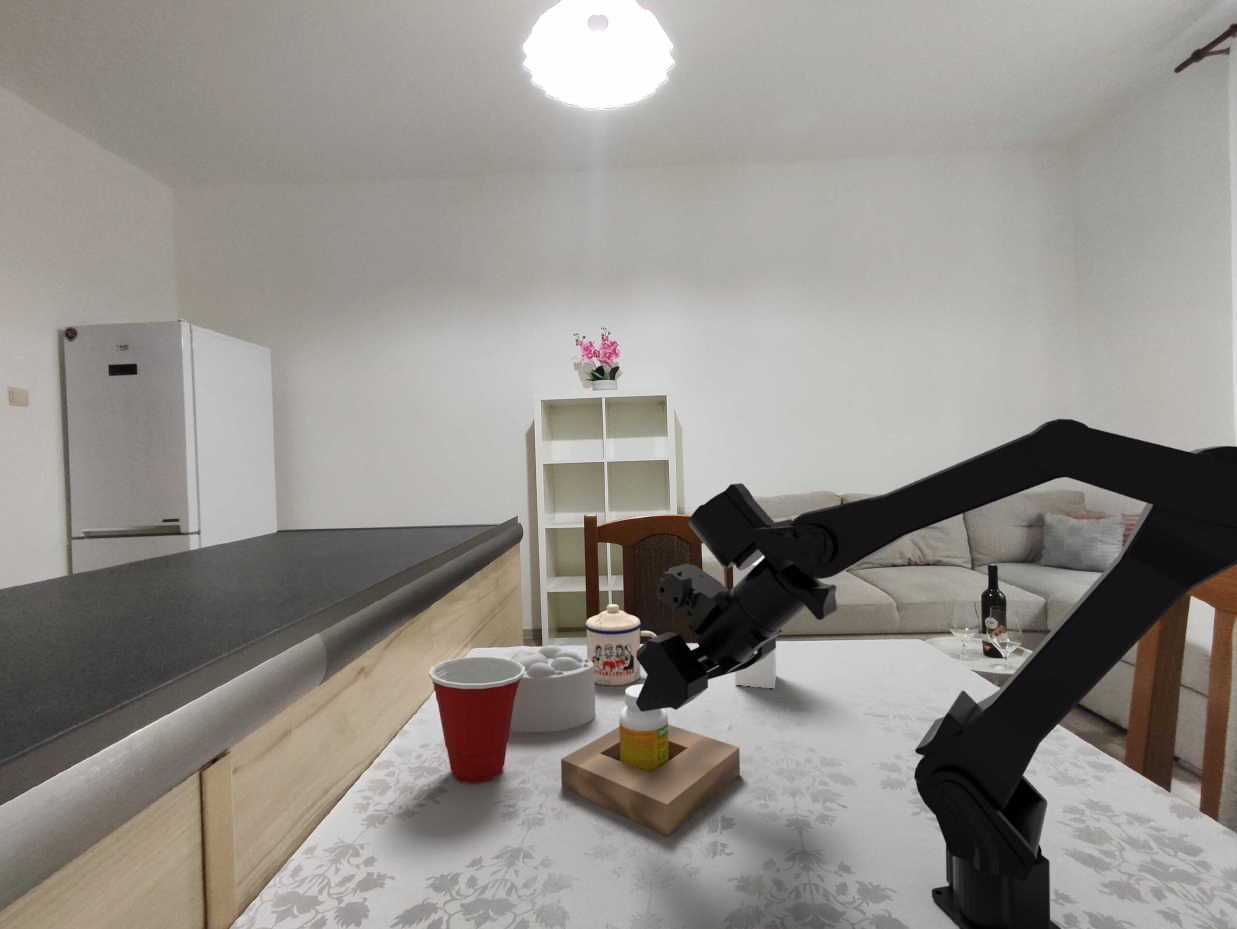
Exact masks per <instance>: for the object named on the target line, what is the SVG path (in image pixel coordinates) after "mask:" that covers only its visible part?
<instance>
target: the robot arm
mask: <svg viewBox="0 0 1237 929" xmlns="http://www.w3.org/2000/svg"><path fill="white" fill-rule="evenodd" d="M1062 478H1067V479H1071V480H1074V481H1077V482H1082V483H1085V484H1087V485H1091V486H1094V487H1096V488H1099V489H1102V490H1105V491H1109V492H1112V493H1115V494H1117V495H1121V496H1124V497H1126V498H1130V499H1133V500H1136V501H1139V502H1142V503H1143V502H1144V503H1145V506H1144V507H1143V509H1142V511H1141V512H1140V514H1139V517H1138V518H1137V521H1136V523H1135V524H1134V526H1133V528H1132V530H1131V532H1130V534H1129V536H1128V538H1127V539H1126V541H1125V544H1124V546H1123V547H1122V549H1121V551H1120V552H1119V554H1118V555H1117V556H1116V557H1115V558H1114V560H1112V562H1111V563H1109V565H1108V566H1107V567H1106V569H1105V570H1104V571H1103V572H1102V573H1101V574H1100V575H1099V577H1097V579H1096V580H1095V581H1094V582H1093V583H1092V584H1091V586H1089V588H1088V589H1086V591H1085V592H1084V593H1083V595H1082V596H1081V597H1080V598H1079V599H1078V600H1077V601H1076V602H1075V604H1073V606H1072V607H1071V608H1070V609H1069V610H1068V611H1067V613H1065V615H1064V616H1063V617H1062V618H1061V619H1060V621H1058V622H1057V624H1056V625H1055V626H1054V627H1053V629H1052V630H1051V631H1049V633H1047V635H1046V636H1045V638H1044V639H1042V641H1041V642H1040V643H1039V644H1038V645H1037V646H1036V648H1034V650H1033V651H1032V652H1031V653H1030V654H1029V656H1027V657H1026V659H1025V660H1024V661H1023V662H1022V663H1021V664H1020V666H1019V667H1017V669H1016V670H1015V671H1014V672H1013V674H1011V676H1010V677H1009V678H1008V679H1006V680H1007V681H1006V682H1004V683H1003V685H1002V686H1001V687H1000V688H999V689H998V690H997V691H996V692H994V693H992V694H991V695H990V696H988V697H986V698H983V699H982V700H981V701H979V702H976V701H975V700H974V699H973V697H971V696H970V695H969V693H967V692H966V691H965V690H961V691H960V693H959V695H958V696H957V697H956V699H955V700H954V702H953V703H952V704H951V706H950V708H949V709H948V711H947V712H946V714H945V715H944V716H943V717H939V718H938V719H935V720H934V721H933V723H932V725H931V726H930V727H929V729H928V731H927V732H926V733H925V735H923V738H922V739H921V741H919V743H918V745H917V746H916V747H915V749H914V751H915V752H914V753H916V754H917V755H921V756H922V757H921V758H920V760H919V761H918V763H917V765H916V767H915V769H914V770H915V771H914V775H913V778H914V780H915V783H916V789H917V792H918V795H919V796H920V797H921V799H922V801H923V803H924V804H925V806H926V807H927V808H928V809H929V810H930V811H931V812H932V814H933V815H935V817H936V820H937V823H938V826H939V829H940V831H941V834H942V837H943V840H944V842H945V870H946V871H945V873H946V876H945V879H946V882H947V883H948V885H945V886H940V887H934V888H931V898H932V899H933V900H934V901H935V902H936V903H937V904H938V906H940V907H941V908H942V909H943V911H945V912H946V913H947V914H948V915H949V916H950V917H951V918H952V919H953V920H954V921H955V923H957V925H959V927H961V929H1062V928H1061V927H1060V926H1058V924H1056V923H1055V922H1054V921H1052V920H1051V888H1050V887H1051V884H1050V883H1051V875H1050V874H1051V872H1050V871H1051V870H1050V869H1051V868H1050V860H1049V859H1048V858H1047V857H1045V856H1044V855H1043V854H1042V853H1043V852H1042V847H1041V845H1040V842H1041V836H1042V832H1043V825H1044V821H1045V817H1046V812H1047V807H1048V800H1047V799H1046V798H1045V797H1044V796H1043V795H1042V794H1041V793H1040V791H1038V790H1037V788H1035V786H1034V785H1033V784H1032V783H1031V782H1030V781H1029V780H1028V779H1027V777H1025V776H1024V774H1025V772H1026V770H1027V768H1028V766H1029V764H1030V762H1031V761H1032V759H1033V757H1034V755H1035V753H1036V751H1037V749H1038V748H1039V746H1040V744H1041V742H1042V741H1043V740H1044V739H1045V738H1046V737H1047V736H1048V735H1049V734H1050V733H1051V732H1052V731H1053V730H1054V729H1055V728H1056V727H1057V726H1058V725H1059V724H1060V723H1061V722H1062V720H1064V718H1066V717H1067V716H1068V714H1069V713H1070V712H1071V711H1073V709H1074V708H1075V707H1076V706H1077V705H1078V704H1079V703H1080V702H1081V701H1082V700H1083V699H1084V698H1085V697H1086V696H1087V694H1089V693H1090V692H1091V690H1093V689H1094V687H1095V686H1097V684H1098V683H1099V682H1100V681H1101V680H1102V679H1103V678H1104V677H1105V676H1106V675H1107V674H1108V673H1109V672H1110V671H1111V670H1112V669H1113V668H1114V667H1115V665H1117V664H1118V663H1119V661H1121V659H1122V658H1124V656H1126V655H1127V653H1128V652H1129V651H1130V650H1131V649H1133V647H1134V646H1135V645H1136V644H1137V643H1138V642H1139V641H1140V639H1142V638H1143V637H1144V636H1145V635H1146V633H1148V632H1149V631H1150V629H1151V628H1153V626H1154V625H1155V624H1156V623H1157V622H1158V621H1159V620H1160V619H1161V618H1162V617H1163V616H1164V615H1165V614H1166V613H1168V612H1167V611H1169V610H1170V608H1171V607H1173V605H1175V603H1177V601H1179V599H1180V598H1181V597H1182V596H1184V595H1186V593H1188V592H1189V591H1192V590H1193V589H1194V588H1196V587H1199V586H1200V585H1201V584H1202V585H1203V584H1204V583H1205V582H1207V581H1209V580H1210V579H1213V578H1215V577H1216V576H1218V575H1220V574H1221V573H1224V572H1225V571H1227V570H1228V569H1230V568H1233V567H1234V566H1236V565H1237V446H1235V445H1217V446H1215V445H1214V446H1208V447H1204V448H1203V447H1202V448H1196V449H1194V450H1191V451H1187V450H1184V449H1178V448H1175V447H1171V446H1167V445H1163V444H1158V443H1154V442H1151V441H1146V440H1141V439H1138V438H1133V437H1129V436H1125V435H1121V434H1117V433H1113V432H1109V431H1106V430H1102V429H1097V428H1092V427H1089V426H1088V425H1087V424H1085V423H1083V422H1081V421H1078V420H1074V419H1071V418H1067V419H1066V418H1058V419H1053V420H1050V421H1046V422H1044V423H1042V424H1040V425H1039V426H1038V427H1037V428H1035V429H1034V430H1033V431H1031V432H1029V433H1027V434H1025V435H1023V436H1020V437H1017V438H1015V439H1012V440H1011V441H1008V442H1006V443H1004V444H1001V445H999V446H996V447H993V448H992V449H989V450H986V451H985V452H982V453H979V454H977V455H974V456H973V457H970V458H968V459H966V460H965V459H964V460H963V461H960V462H958V463H955V464H954V465H951V466H948V467H946V468H944V469H941V470H939V471H937V472H935V473H932V474H930V475H927V476H925V477H922V478H920V479H918V480H915V481H913V482H911V483H909V484H905V485H903V486H902V487H899V488H896V489H894V490H892V491H889V492H887V493H884V494H880V495H877V496H873V497H872V496H871V497H868V498H864V499H859V500H854V501H850V502H846V503H841V504H836V505H833V506H829V507H824V508H820V509H816V510H810V511H807V512H804V513H801V514H799V515H798V516H797V517H795V518H794V519H784V520H780V521H776V522H775V521H774V520H773V519H772V518H771V517H770V516H769V515H768V513H767V512H766V510H765V509H763V508H762V507H761V505H760V504H759V503H758V502H757V501H756V500H755V499H754V497H753V495H752V493H751V492H750V491H749V489H748V488H747V487H746V485H745V484H743V483H742V482H739V483H731V484H729V485H728V487H727V488H726V489H725V490H724V491H722V492H720V493H718V494H717V495H714V497H712V498H710V499H709V500H708V501H707V502H706V503H704V504H701V505H699V506H698V507H697V508H696V509H695V510H694V511H693V513H692V514H691V515H690V517H689V520H688V526H689V527H690V528H691V529H692V530H693V531H694V533H695V534H696V535H697V537H698V538H699V539H700V541H701V542H702V543H703V544H704V545H705V546H706V548H707V549H708V551H709V552H710V553H711V554H712V555H713V557H714V558H715V559H716V560H717V562H718V563H719V564H720V565H721V567H722V568H723V569H727V570H729V569H730V568H731V567H732V568H733V566H734V565H735V566H736V568H737V569H738V570H739V571H741V570H744V569H746V568H748V567H749V566H751V565H752V564H753V563H755V562H756V561H757V560H759V559H760V558H761V557H762V556H763V555H764V558H763V559H762V560H761V561H760V562H759V563H758V564H757V565H756V566H755V567H754V568H753V569H752V570H751V571H750V572H749V573H748V574H747V575H746V576H745V577H744V578H743V579H742V580H741V581H740V582H739V583H738V584H737V585H736V586H735V587H732V588H731V589H729V588H727V587H726V586H725V585H724V584H722V582H720V581H719V580H718V579H716V578H715V577H713V576H712V575H710V574H709V573H707V572H705V571H704V570H703V569H701V568H700V567H698V566H696V565H694V564H693V563H692V564H691V563H684V564H681V565H676V566H673V567H669V569H668V571H664V573H663V576H662V577H661V578H658V579H657V580H656V587H657V589H656V595H657V598H658V599H659V600H660V601H662V603H664V604H666V605H668V606H669V607H670V608H672V609H673V610H676V609H677V610H678V611H680V612H682V613H683V614H684V615H686V616H688V617H689V618H688V619H686V620H687V621H685V622H684V624H685V625H686V626H687V628H688V630H689V631H690V632H691V633H692V634H694V633H695V634H696V636H695V641H696V642H697V645H698V646H697V647H695V648H692V650H691V648H690V647H689V646H688V643H687V642H686V641H685V640H684V638H683V637H682V636H681V634H680V633H677V632H676V633H675V632H671V631H667V632H665V633H662V634H660V635H656V636H657V637H654V638H649V639H647V640H646V641H645V642H644V643H643V644H642V645H640V648H639V649H638V650H637V654H636V658H637V660H638V661H639V663H640V667H642V669H643V670H644V672H645V674H646V678H645V680H644V683H643V684H644V685H643V687H642V689H641V691H640V694H639V696H638V698H637V700H636V705H637V706H638V708H639V709H640V711H642V712H643V711H650V710H656V709H663V708H664V709H669V708H671V709H673V710H676V711H677V710H678V709H680V708H682V707H684V706H685V705H687V704H689V703H690V702H692V701H694V700H695V699H696V698H697V697H699V696H700V695H701V694H702V693H703V692H705V691H706V690H707V689H708V688H709V680H713V679H716V678H719V677H722V676H725V675H729V674H732V673H735V672H736V671H739V670H743V669H746V668H748V667H749V666H751V665H753V664H755V663H756V662H758V661H760V660H761V659H763V658H765V657H766V656H767V655H768V654H770V653H771V652H772V651H773V650H774V649H775V648H776V649H777V637H778V636H779V635H780V634H781V633H782V632H783V630H782V629H783V628H784V627H785V626H786V625H787V624H788V623H790V622H791V621H792V620H793V619H794V618H795V617H796V616H798V615H799V614H800V613H801V612H802V611H803V610H804V609H805V608H807V609H808V610H809V612H810V613H811V614H812V616H814V617H815V619H817V620H819V621H822V620H824V619H826V618H827V617H829V616H831V615H833V614H835V613H836V612H837V611H838V605H837V599H836V592H837V585H835V584H827V583H824V582H822V581H821V579H828V578H832V577H835V576H838V574H841V573H844V572H845V571H848V570H850V569H853V568H854V567H857V566H859V565H862V563H864V562H867V560H870V559H871V558H873V557H874V556H876V555H878V554H879V553H881V552H883V551H884V550H886V549H888V548H889V547H891V546H893V545H894V544H896V543H898V542H899V541H901V540H902V539H904V538H905V537H907V536H909V535H910V534H912V533H914V532H917V531H920V530H921V529H924V528H925V529H926V528H927V527H929V526H932V525H935V524H939V523H941V522H943V521H946V520H949V519H951V518H954V517H957V516H959V515H962V514H965V513H968V512H971V511H973V510H976V509H979V508H980V507H985V506H986V505H989V504H992V503H994V502H997V501H1000V500H1003V499H1005V498H1008V497H1011V496H1014V495H1015V494H1016V495H1017V494H1018V493H1022V492H1024V491H1027V490H1030V489H1032V488H1035V487H1038V486H1040V485H1043V484H1045V483H1048V482H1052V481H1053V480H1054V481H1055V480H1056V479H1062ZM755 651H757V653H756V654H754V652H755Z"/></svg>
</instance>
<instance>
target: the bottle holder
mask: <svg viewBox="0 0 1237 929" xmlns="http://www.w3.org/2000/svg"><path fill="white" fill-rule="evenodd" d="M668 749H669V761H668V762H667V763H665V764H664V765H662V766H661V767H660V768H658V769H657V770H655V771H654V772H652V773H651V774H650V773H648V772H645V771H643V770H640V769H638V768H635V767H633V766H630V765H628V764H625V763H623V762H620V726H618V727H616V728H614V729H612V730H610V731H608V732H607V733H605V734H603V735H602V736H600V737H598V738H597V739H594V740H593V741H591V742H589V743H588V744H586V745H584V746H583V747H580V748H579V749H577V750H574V751H573V752H571V753H569V754H568V755H566V756H564V757H562V758H561V759H560V761H561V762H560V767H561V768H560V771H561V780H560V781H561V788H563V789H566V790H568V791H570V792H572V793H575V794H576V795H579V796H581V797H583V798H585V799H588V800H589V801H592V802H594V803H596V804H598V805H600V806H602V807H604V808H607V809H608V810H611V811H613V812H615V813H617V814H619V815H621V816H624V817H625V818H628V819H630V820H632V821H634V822H636V823H638V824H641V825H643V826H645V827H648V828H649V829H651V830H653V831H656V832H657V833H659V834H662V835H664V836H666V837H668V836H670V835H671V834H672V833H673V832H675V830H677V829H678V828H679V827H681V825H683V824H684V823H685V822H686V821H688V819H690V817H692V816H693V815H694V814H695V813H696V812H698V811H699V810H700V809H702V807H704V806H705V805H706V804H707V803H709V801H710V800H712V799H713V798H714V797H716V796H717V795H718V794H719V793H720V792H721V791H722V790H723V789H725V788H726V787H727V786H728V785H729V784H731V782H733V781H734V780H735V779H736V778H737V777H738V776H740V773H741V767H740V766H741V764H740V763H741V762H740V759H741V758H740V755H741V754H740V747H739V746H736V745H733V744H731V743H726V742H724V741H720V740H717V739H714V738H712V737H708V736H705V735H703V734H699V733H696V732H693V731H690V730H687V729H684V728H680V727H678V726H675V725H671V724H669V723H668ZM732 780H733V781H732Z"/></svg>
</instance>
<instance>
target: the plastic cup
mask: <svg viewBox="0 0 1237 929" xmlns="http://www.w3.org/2000/svg"><path fill="white" fill-rule="evenodd" d="M524 673H525V667H524V666H523V665H522V664H520V663H519V662H516V661H513V660H509V659H507V658H504V657H496V656H469V657H458V658H454V659H449V660H448V659H447V660H445V661H441V662H439V663H436V664H435V665H432V666H431V668H430V669H429V671H428V677H429V678H430V679H431V681H432V685H433V690H434V691H435V699H436V702H437V705H438V706H437V707H438V711H439V716H440V722H441V728H442V734H443V740H444V745H445V748H446V751H447V756H448V762H449V767H450V770H451V773H452V776H453V777H454V779H455V780H456V781H458V782H461V783H465V784H480V783H484V782H488V781H491V780H493V779H494V778H496V777H498V776H499V775H500V774H501V773H502V772H503V770H504V766H505V762H506V753H507V747H508V746H507V745H508V742H509V738H510V732H511V731H510V726H511V719H512V712H513V706H514V699H515V697H516V692H517V688H518V685H519V682H520V679H521V678H522V677H523V676H524Z"/></svg>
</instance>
